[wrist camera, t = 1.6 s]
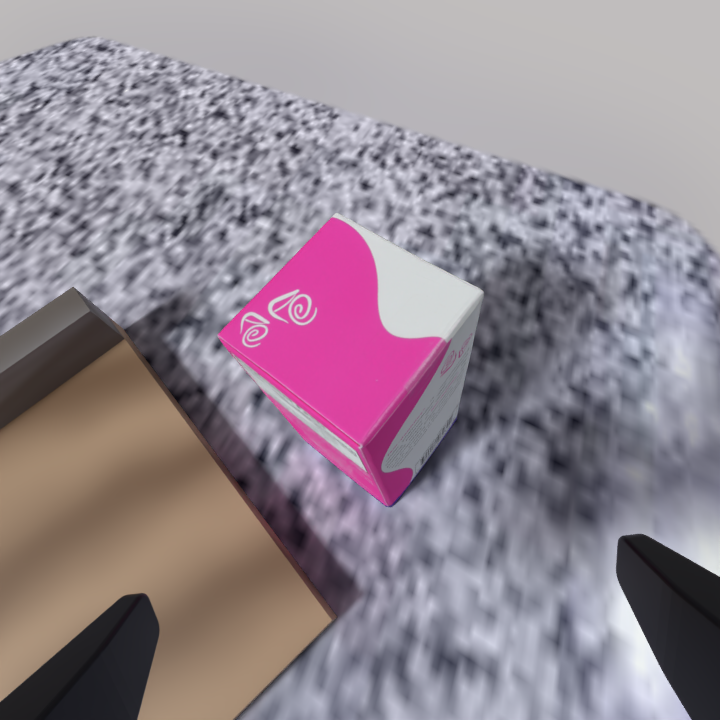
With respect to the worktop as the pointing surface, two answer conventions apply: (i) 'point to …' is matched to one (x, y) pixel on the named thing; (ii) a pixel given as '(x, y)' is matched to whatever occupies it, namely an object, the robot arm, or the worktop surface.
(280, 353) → the supplement box
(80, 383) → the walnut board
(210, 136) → the worktop surface
